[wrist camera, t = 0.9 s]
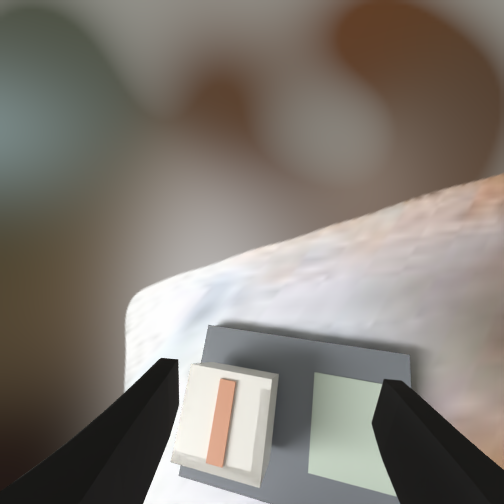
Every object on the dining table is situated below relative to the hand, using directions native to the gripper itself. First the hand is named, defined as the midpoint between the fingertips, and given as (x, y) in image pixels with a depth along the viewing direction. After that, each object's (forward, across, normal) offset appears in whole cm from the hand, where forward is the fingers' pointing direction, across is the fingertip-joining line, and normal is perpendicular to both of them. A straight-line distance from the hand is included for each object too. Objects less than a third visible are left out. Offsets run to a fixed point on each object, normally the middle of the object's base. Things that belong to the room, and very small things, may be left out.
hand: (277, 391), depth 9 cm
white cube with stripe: (+8, +2, +10) cm, 12 cm away
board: (+9, -3, +11) cm, 14 cm away
